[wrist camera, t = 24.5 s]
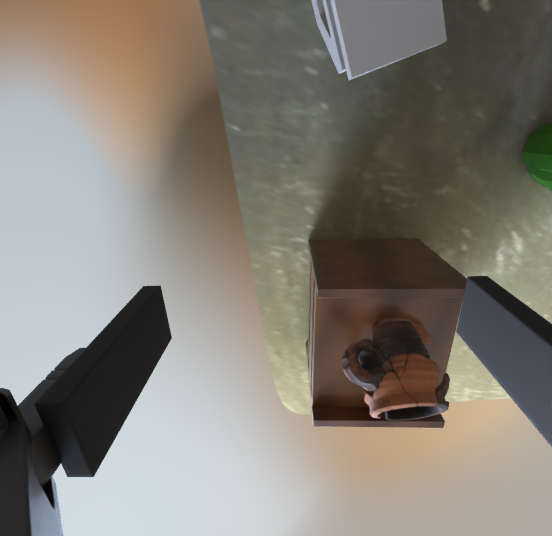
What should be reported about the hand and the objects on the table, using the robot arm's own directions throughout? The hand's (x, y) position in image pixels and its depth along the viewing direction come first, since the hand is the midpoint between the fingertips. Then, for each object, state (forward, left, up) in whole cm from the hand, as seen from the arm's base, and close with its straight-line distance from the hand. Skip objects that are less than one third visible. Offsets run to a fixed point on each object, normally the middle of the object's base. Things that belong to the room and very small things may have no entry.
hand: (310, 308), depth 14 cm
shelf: (-9, +16, -30) cm, 35 cm away
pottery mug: (-10, +16, -17) cm, 25 cm away
